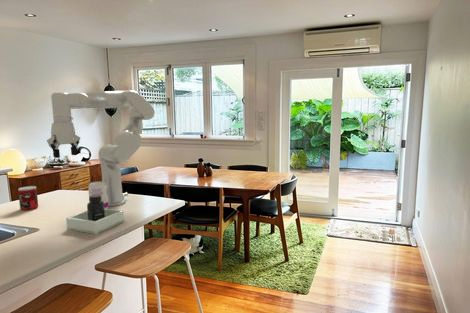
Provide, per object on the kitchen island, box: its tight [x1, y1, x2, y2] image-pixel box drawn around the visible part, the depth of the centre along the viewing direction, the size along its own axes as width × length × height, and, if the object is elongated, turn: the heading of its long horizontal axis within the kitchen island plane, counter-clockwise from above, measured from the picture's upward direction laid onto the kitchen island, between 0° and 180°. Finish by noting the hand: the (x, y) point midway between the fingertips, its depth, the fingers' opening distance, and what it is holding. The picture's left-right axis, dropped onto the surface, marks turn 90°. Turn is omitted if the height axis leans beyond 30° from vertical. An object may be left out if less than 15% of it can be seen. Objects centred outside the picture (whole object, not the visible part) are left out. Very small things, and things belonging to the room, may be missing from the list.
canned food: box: [17, 185, 39, 212], centre depth 166 cm, size 8×8×11 cm
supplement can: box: [87, 180, 109, 209], centre depth 156 cm, size 8×8×15 cm
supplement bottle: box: [86, 195, 105, 221], centre depth 139 cm, size 7×7×12 cm
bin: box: [65, 208, 125, 235], centre depth 139 cm, size 16×16×5 cm
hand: (65, 156), depth 152 cm, fingers open, 9 cm apart
